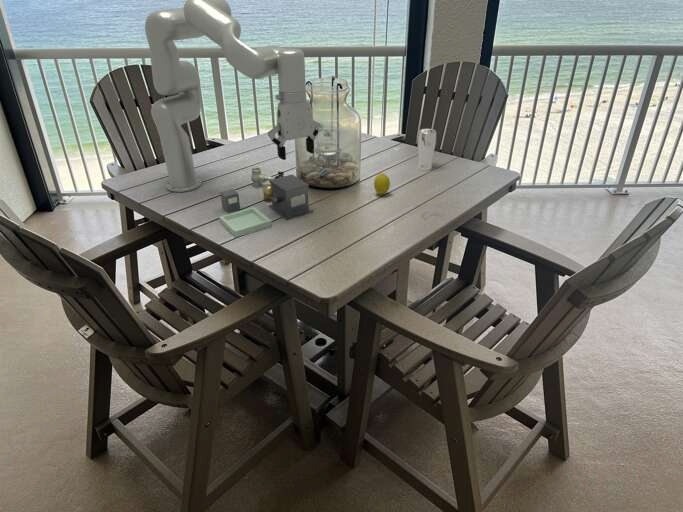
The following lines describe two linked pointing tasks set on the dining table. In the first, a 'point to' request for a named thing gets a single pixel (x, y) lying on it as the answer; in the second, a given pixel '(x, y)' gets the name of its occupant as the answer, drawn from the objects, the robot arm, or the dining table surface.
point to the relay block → (230, 200)
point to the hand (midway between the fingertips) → (296, 155)
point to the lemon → (382, 183)
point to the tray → (245, 221)
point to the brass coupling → (267, 193)
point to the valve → (261, 177)
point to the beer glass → (426, 148)
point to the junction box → (289, 196)
